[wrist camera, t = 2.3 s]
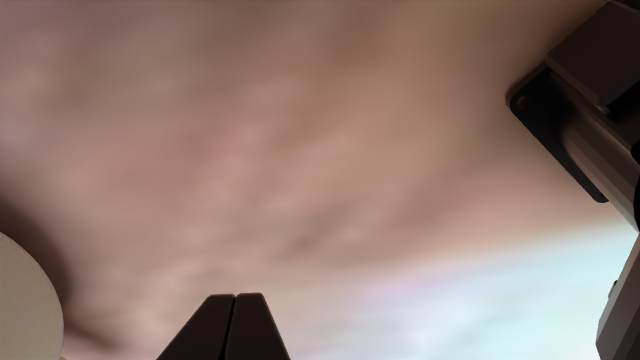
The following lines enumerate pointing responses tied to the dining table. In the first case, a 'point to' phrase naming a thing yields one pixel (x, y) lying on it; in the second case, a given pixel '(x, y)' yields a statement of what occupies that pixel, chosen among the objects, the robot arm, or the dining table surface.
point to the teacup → (27, 308)
